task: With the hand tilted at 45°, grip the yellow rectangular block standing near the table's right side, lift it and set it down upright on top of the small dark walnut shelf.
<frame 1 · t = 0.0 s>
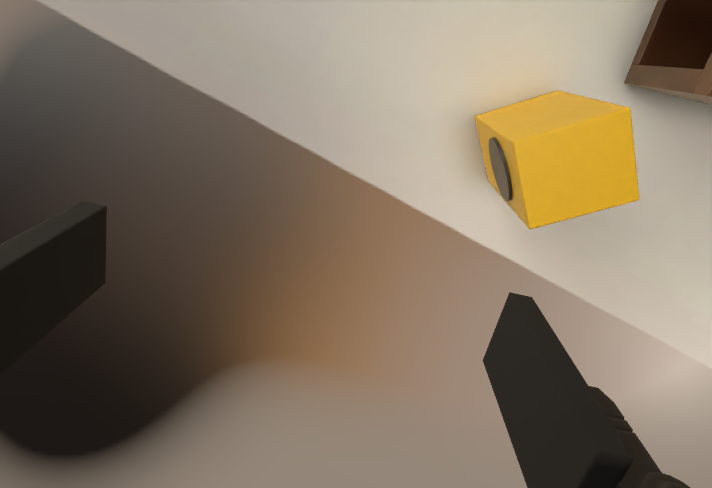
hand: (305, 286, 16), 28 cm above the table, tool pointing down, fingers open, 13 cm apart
yellow rectangular block: (521, 137, 41), on the table
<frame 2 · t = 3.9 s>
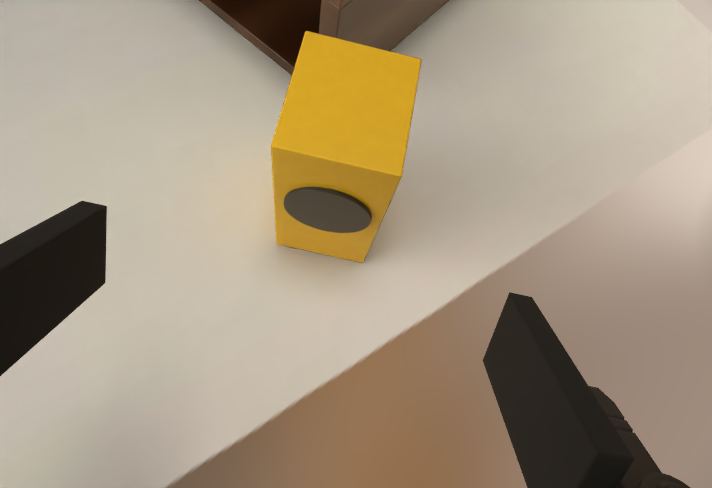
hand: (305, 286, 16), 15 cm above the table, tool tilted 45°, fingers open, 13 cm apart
yellow rectangular block: (330, 208, 34), on the table
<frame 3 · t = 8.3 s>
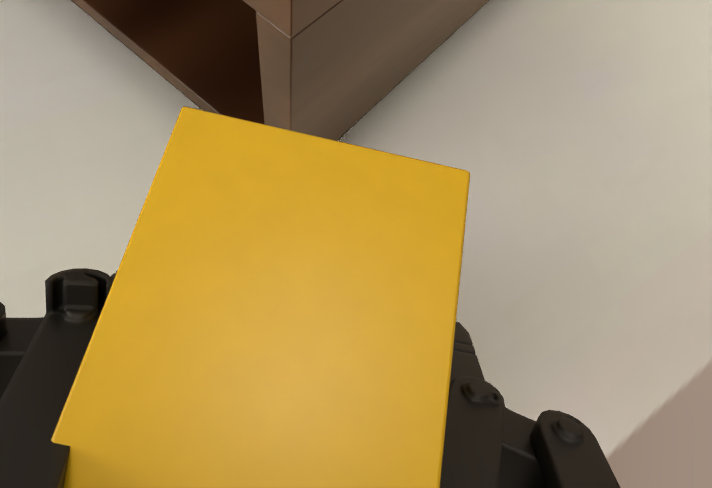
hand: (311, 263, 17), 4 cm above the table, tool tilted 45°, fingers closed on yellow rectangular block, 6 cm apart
yellow rectangular block: (288, 376, 19), on the table, touching gripper
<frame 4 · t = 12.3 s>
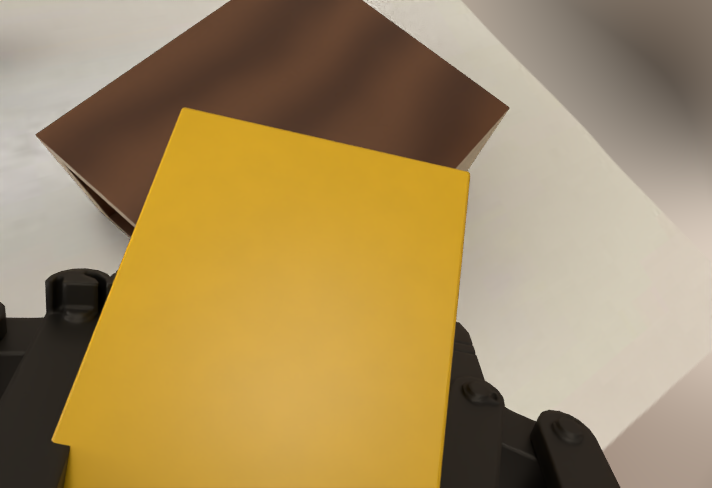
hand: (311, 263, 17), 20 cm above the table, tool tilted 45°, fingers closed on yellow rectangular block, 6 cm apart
shelf: (292, 194, 41), on the table
yellow rectangular block: (288, 377, 19), point 16 cm above the table, touching gripper
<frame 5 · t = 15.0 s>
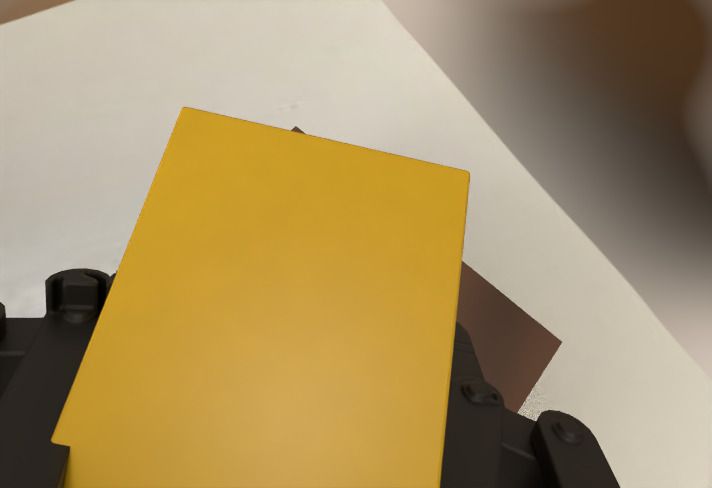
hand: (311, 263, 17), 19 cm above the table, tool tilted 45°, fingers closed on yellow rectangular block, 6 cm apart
shelf: (287, 397, 33), on the table
yellow rectangular block: (288, 377, 19), point 15 cm above the table, touching gripper
when the fingers open (14 cm above the table, at t = 16.7 s): yellow rectangular block stays where it is, resting on shelf.
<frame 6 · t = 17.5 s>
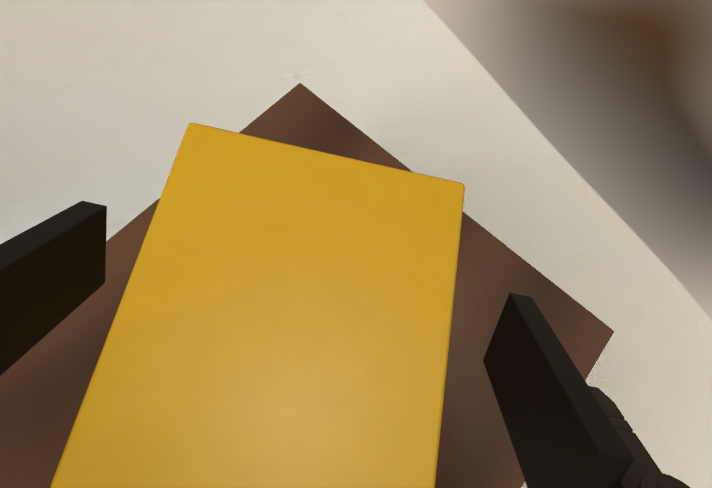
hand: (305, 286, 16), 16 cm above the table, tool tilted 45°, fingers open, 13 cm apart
shelf: (289, 396, 29), on the table
yellow rectangular block: (290, 379, 20), point 10 cm above the table, touching shelf
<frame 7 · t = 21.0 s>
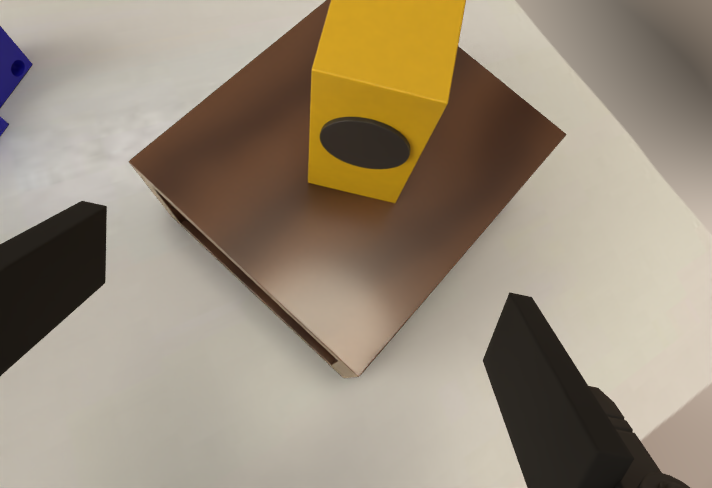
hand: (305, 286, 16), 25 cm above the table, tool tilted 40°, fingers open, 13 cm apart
shelf: (347, 201, 43), on the table
yellow rectangular block: (362, 147, 33), point 10 cm above the table, touching shelf
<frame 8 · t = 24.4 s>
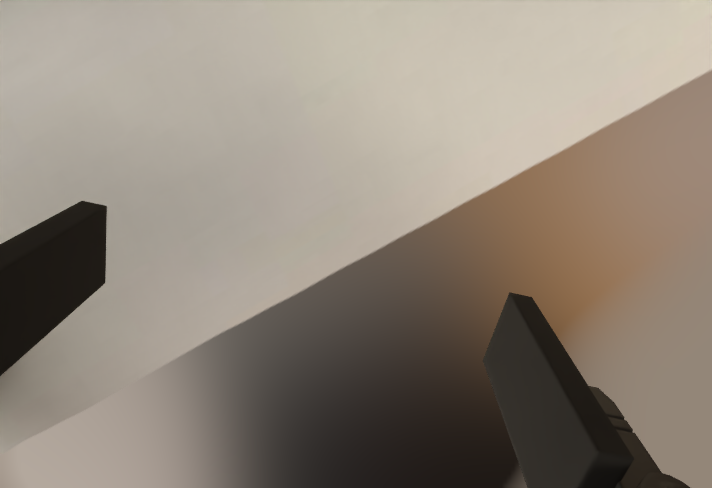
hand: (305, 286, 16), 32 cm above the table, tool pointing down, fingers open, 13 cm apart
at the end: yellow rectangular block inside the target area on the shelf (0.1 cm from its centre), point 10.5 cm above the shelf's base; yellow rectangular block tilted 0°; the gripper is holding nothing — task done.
